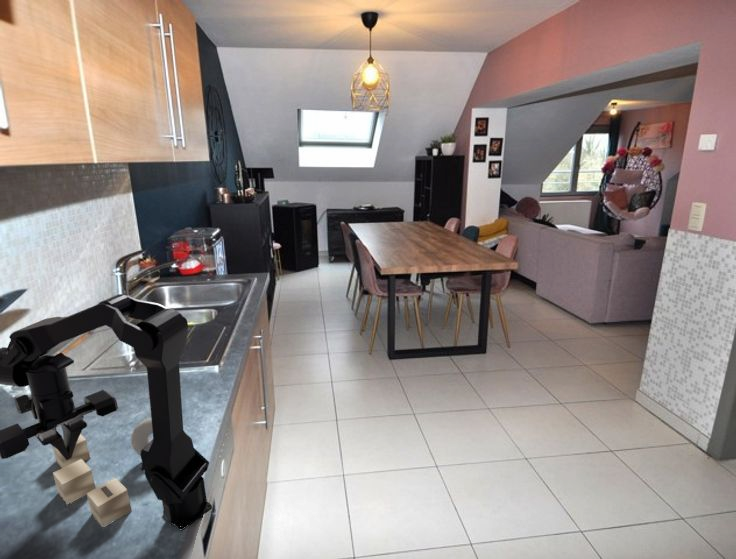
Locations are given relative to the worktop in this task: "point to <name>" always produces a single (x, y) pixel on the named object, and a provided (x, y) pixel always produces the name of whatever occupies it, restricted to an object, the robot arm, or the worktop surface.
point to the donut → (141, 435)
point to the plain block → (74, 481)
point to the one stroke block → (109, 502)
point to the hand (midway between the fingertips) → (68, 458)
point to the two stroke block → (79, 453)
